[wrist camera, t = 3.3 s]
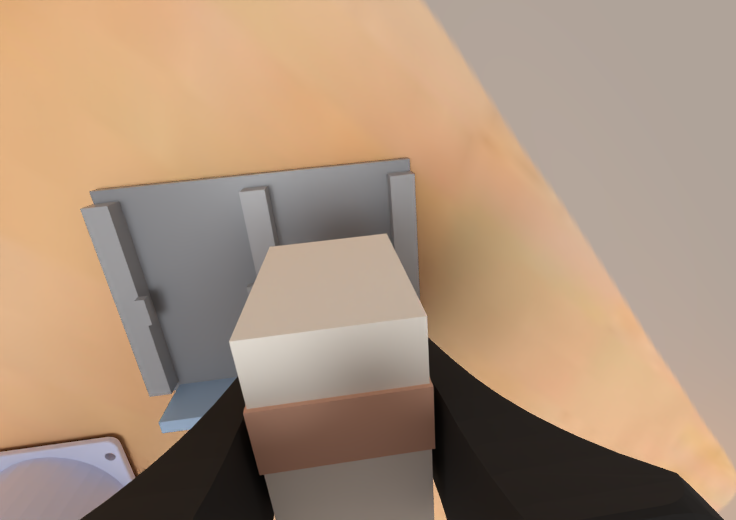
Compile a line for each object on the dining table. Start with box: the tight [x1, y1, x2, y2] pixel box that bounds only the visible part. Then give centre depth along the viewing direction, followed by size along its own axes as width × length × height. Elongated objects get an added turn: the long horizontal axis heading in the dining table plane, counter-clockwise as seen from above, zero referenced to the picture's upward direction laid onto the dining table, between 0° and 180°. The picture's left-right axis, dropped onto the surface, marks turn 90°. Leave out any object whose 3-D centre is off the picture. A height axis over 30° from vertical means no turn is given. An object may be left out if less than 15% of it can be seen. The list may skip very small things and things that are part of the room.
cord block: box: [229, 233, 435, 520], centre depth 10 cm, size 7×4×5 cm, turn 5°
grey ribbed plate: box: [80, 158, 420, 433], centre depth 16 cm, size 10×13×3 cm
